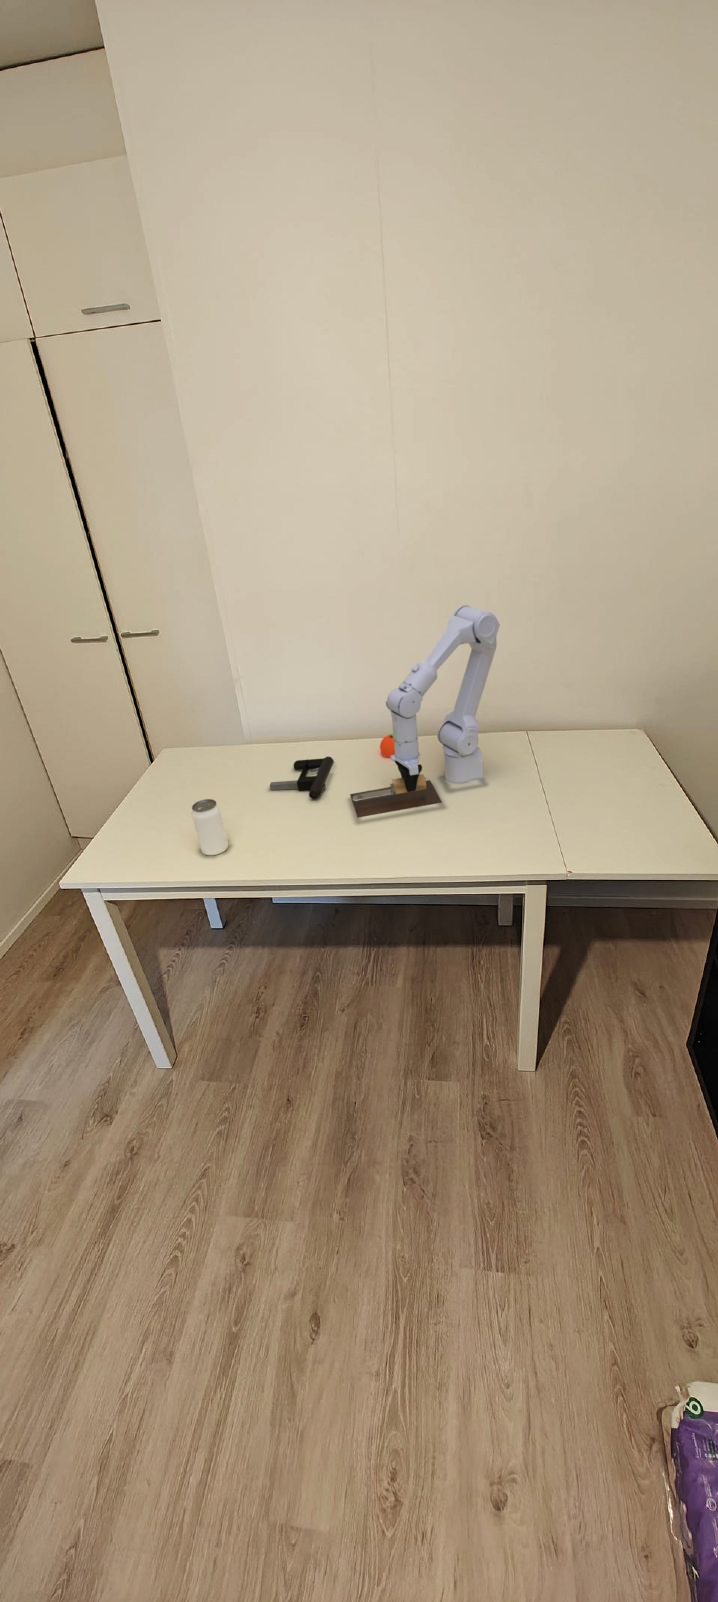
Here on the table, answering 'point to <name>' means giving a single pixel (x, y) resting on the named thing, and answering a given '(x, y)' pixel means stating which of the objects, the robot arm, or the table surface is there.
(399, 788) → the knife
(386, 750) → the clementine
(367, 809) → the board
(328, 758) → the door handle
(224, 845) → the can
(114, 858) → the table surface
